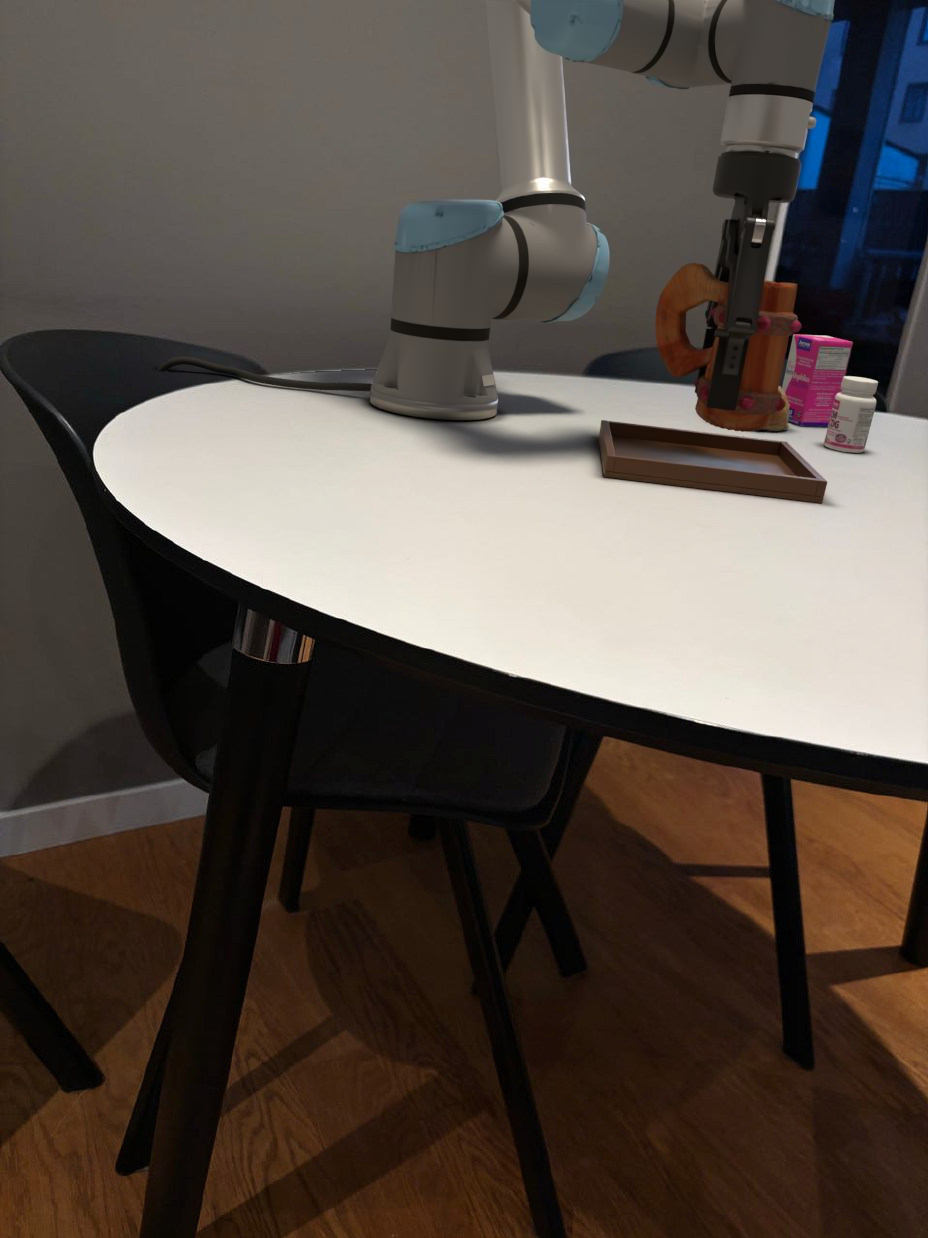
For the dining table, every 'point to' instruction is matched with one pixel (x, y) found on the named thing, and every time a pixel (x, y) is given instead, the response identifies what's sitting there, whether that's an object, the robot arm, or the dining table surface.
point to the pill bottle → (851, 415)
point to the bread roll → (779, 417)
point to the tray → (707, 461)
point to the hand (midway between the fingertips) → (714, 400)
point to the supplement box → (814, 377)
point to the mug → (683, 358)
